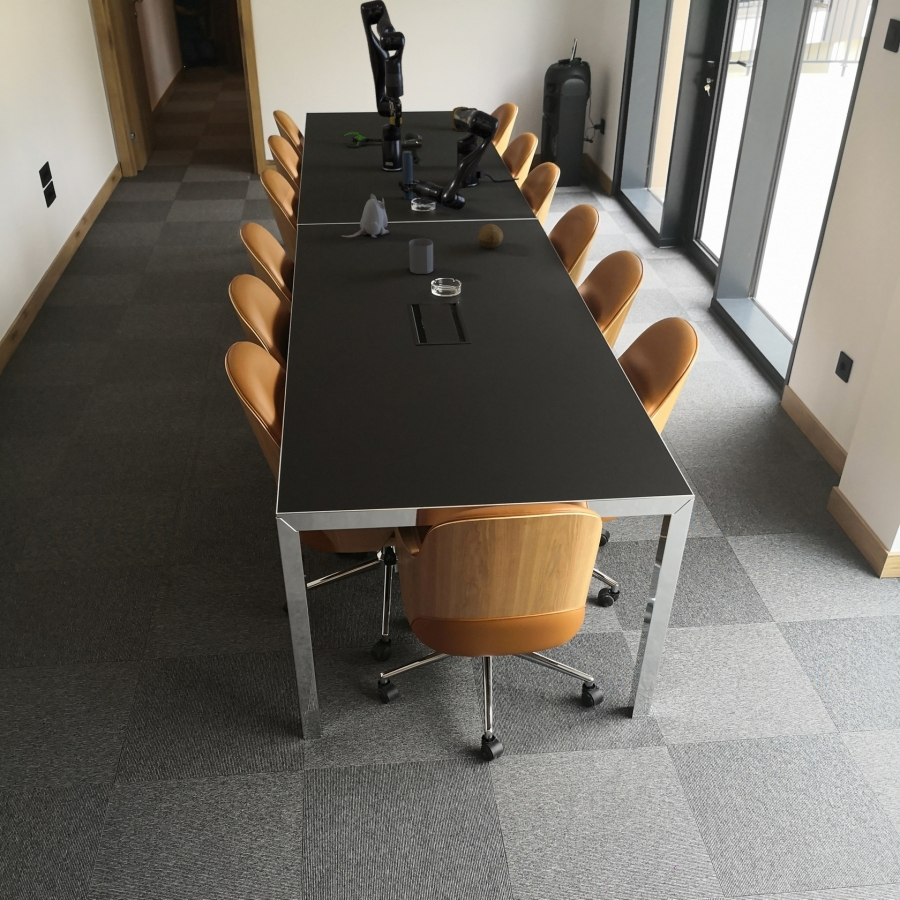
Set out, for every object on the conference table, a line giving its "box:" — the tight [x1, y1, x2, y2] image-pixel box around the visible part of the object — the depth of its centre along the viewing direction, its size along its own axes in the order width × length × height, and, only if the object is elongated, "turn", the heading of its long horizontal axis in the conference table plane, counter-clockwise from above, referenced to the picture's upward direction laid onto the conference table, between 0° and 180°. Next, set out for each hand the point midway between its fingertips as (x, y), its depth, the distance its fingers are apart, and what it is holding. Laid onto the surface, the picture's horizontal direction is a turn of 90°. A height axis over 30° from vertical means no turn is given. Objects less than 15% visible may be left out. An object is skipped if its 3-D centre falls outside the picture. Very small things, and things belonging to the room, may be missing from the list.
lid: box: [389, 116, 403, 125], centre depth 374 cm, size 5×5×2 cm
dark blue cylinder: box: [402, 150, 414, 201], centre depth 376 cm, size 4×4×20 cm
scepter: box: [342, 131, 382, 148], centre depth 461 cm, size 6×13×30 cm
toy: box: [341, 193, 390, 239], centre depth 333 cm, size 9×24×15 cm, turn 137°
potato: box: [477, 223, 504, 249], centre depth 326 cm, size 10×14×8 cm
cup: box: [408, 237, 434, 275], centre depth 305 cm, size 8×8×10 cm
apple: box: [451, 105, 468, 132], centre depth 487 cm, size 11×11×13 cm
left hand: (396, 125), depth 375 cm, fingers closed on lid, 5 cm apart
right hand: (404, 182), depth 380 cm, fingers closed on dark blue cylinder, 4 cm apart
